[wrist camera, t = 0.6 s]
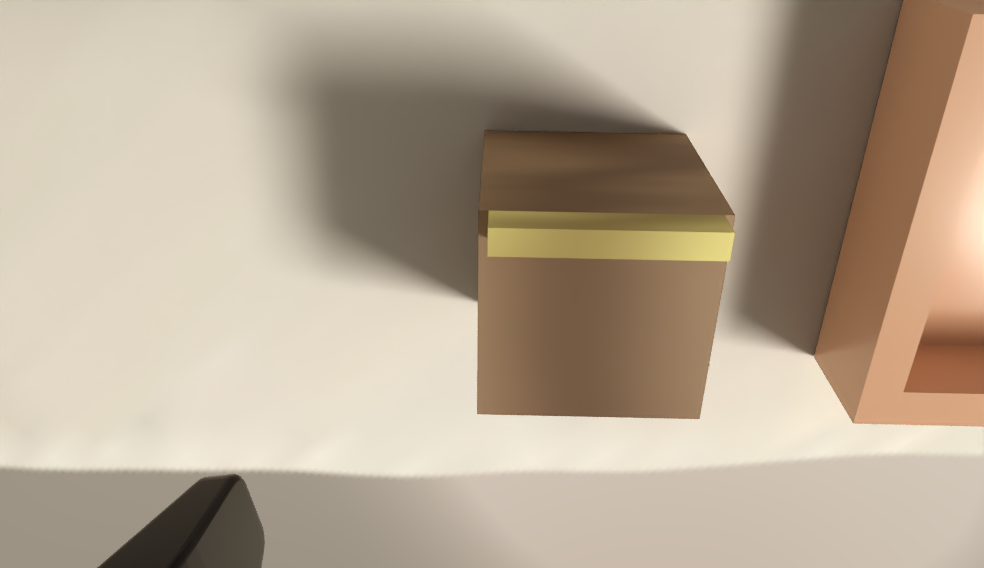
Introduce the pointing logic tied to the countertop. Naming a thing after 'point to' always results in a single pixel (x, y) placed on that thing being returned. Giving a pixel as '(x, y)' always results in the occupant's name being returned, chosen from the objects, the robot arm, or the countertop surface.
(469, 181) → the countertop surface
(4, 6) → the countertop surface
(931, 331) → the open tan box
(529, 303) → the taped cardboard box
